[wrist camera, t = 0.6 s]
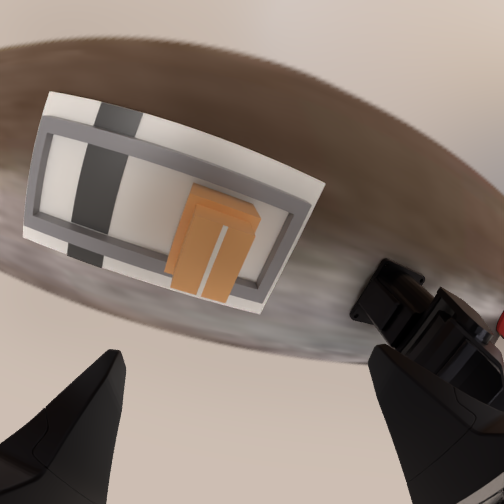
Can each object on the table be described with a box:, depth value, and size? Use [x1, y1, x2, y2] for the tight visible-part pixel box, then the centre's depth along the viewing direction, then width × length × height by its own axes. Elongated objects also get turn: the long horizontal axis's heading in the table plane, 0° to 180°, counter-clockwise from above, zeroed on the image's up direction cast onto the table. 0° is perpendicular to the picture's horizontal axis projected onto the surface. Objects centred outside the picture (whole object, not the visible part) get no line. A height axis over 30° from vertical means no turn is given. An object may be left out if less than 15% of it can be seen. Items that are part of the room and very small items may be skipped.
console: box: [23, 92, 325, 314], centre depth 17 cm, size 20×11×2 cm, turn 67°
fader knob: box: [164, 182, 261, 303], centre depth 16 cm, size 4×5×5 cm
